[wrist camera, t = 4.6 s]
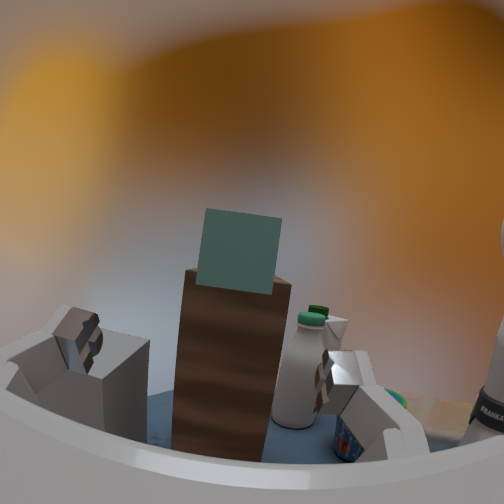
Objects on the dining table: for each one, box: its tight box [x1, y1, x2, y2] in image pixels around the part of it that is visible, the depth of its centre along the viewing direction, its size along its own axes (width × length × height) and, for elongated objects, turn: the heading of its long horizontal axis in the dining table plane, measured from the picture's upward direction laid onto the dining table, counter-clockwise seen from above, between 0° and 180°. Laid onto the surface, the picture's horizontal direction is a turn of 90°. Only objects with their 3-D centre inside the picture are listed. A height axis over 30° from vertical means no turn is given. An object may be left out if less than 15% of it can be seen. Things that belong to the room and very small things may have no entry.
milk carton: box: [298, 305, 349, 350], centre depth 61 cm, size 9×9×20 cm
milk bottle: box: [272, 312, 326, 429], centre depth 49 cm, size 8×8×20 cm
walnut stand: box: [171, 268, 292, 462], centre depth 31 cm, size 16×8×26 cm, turn 1°
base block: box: [36, 328, 150, 444], centre depth 28 cm, size 14×10×16 cm
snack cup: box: [334, 388, 406, 462], centre depth 38 cm, size 16×10×10 cm
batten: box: [196, 208, 282, 295], centre depth 25 cm, size 22×4×4 cm, turn 1°
